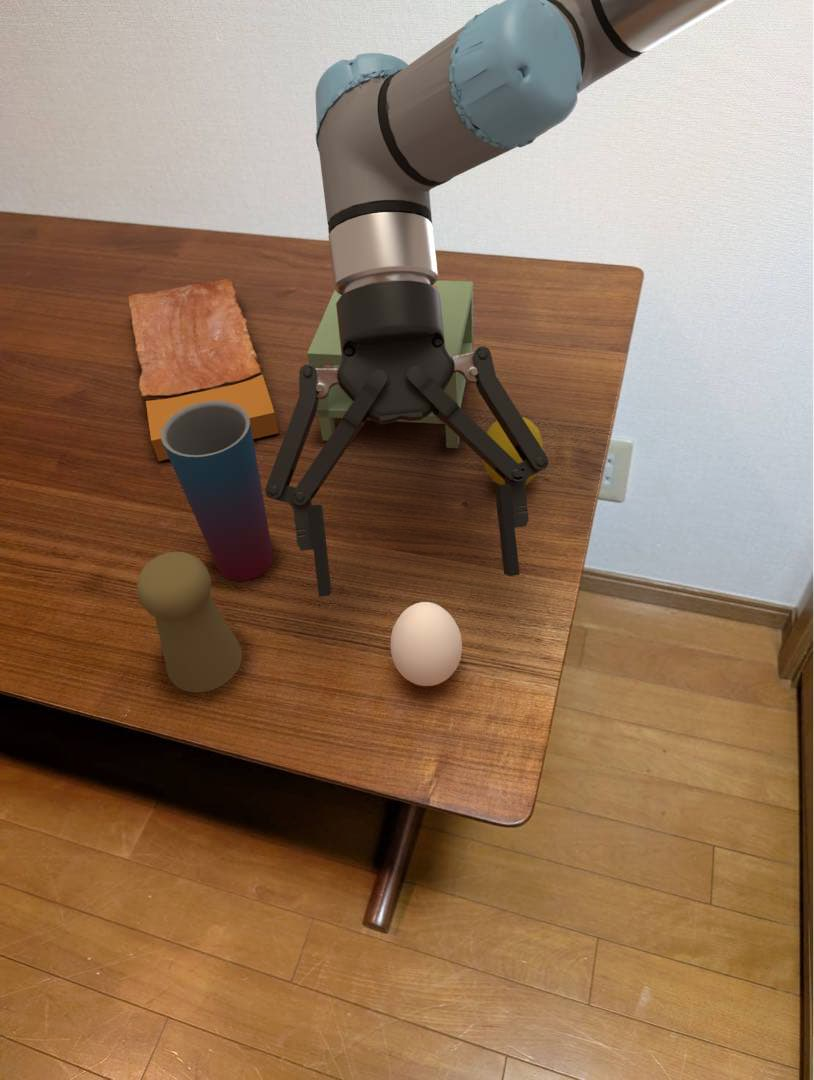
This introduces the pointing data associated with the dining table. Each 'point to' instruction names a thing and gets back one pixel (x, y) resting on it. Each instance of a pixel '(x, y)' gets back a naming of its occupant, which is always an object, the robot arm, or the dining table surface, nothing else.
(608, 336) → the dining table surface
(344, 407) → the green side table
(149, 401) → the salmon fillet board
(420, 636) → the egg
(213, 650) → the cork
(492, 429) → the lemon
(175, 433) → the cup
